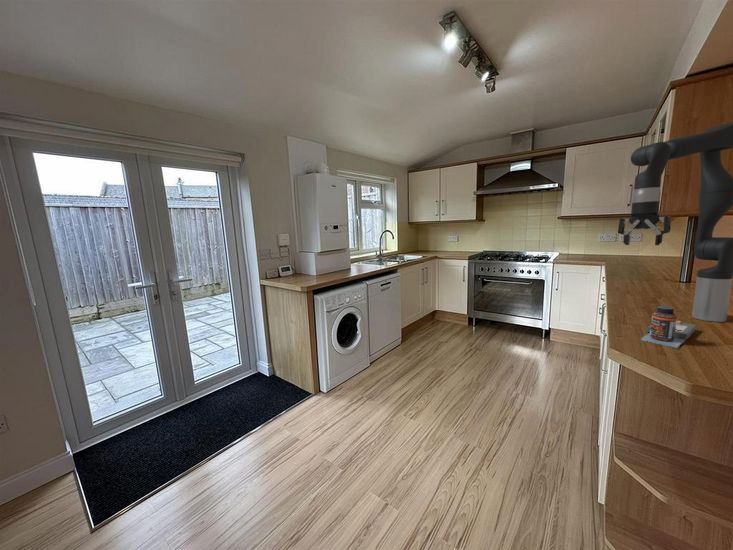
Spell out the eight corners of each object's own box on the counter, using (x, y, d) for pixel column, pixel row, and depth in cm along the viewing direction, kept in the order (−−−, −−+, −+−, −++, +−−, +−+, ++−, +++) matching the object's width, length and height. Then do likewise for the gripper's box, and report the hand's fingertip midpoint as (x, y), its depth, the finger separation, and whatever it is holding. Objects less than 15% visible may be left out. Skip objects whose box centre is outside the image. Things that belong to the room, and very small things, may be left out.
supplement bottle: (645, 337, 103) (648, 306, 101) (655, 334, 105) (658, 304, 103) (668, 343, 98) (671, 310, 96) (678, 340, 100) (681, 307, 98)
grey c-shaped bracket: (661, 322, 119) (662, 315, 119) (698, 328, 111) (699, 320, 110) (646, 332, 109) (647, 324, 109) (685, 340, 101) (686, 332, 100)
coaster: (649, 334, 107) (649, 332, 107) (684, 341, 100) (684, 339, 100) (640, 340, 103) (641, 338, 102) (677, 348, 95) (677, 346, 95)
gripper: (675, 199, 105) (670, 244, 107) (624, 203, 116) (621, 244, 119) (669, 198, 101) (664, 246, 103) (617, 203, 112) (614, 245, 115)
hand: (641, 245), depth 111 cm, fingers open, 8 cm apart
